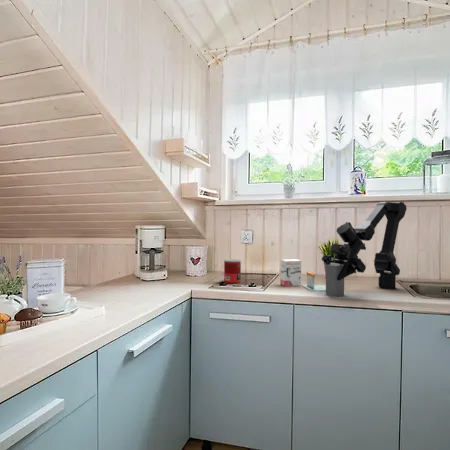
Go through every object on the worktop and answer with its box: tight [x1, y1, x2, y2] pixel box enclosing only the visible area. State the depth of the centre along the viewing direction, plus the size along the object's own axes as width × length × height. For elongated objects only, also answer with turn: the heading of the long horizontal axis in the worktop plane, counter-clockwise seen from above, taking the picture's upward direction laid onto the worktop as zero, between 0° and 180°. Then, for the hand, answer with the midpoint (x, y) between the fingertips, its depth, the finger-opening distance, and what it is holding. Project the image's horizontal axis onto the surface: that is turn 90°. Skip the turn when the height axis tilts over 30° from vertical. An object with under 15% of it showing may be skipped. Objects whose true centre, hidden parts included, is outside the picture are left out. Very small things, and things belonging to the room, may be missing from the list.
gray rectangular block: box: [325, 263, 345, 298], centre depth 142 cm, size 5×5×13 cm
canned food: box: [223, 258, 242, 285], centre depth 171 cm, size 8×8×11 cm
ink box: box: [280, 258, 302, 287], centre depth 164 cm, size 9×5×12 cm, turn 105°
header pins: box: [306, 271, 316, 289], centre depth 156 cm, size 2×8×6 cm, turn 4°
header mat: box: [301, 284, 326, 292], centre depth 156 cm, size 13×13×1 cm
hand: (332, 278), depth 141 cm, fingers closed on gray rectangular block, 5 cm apart
